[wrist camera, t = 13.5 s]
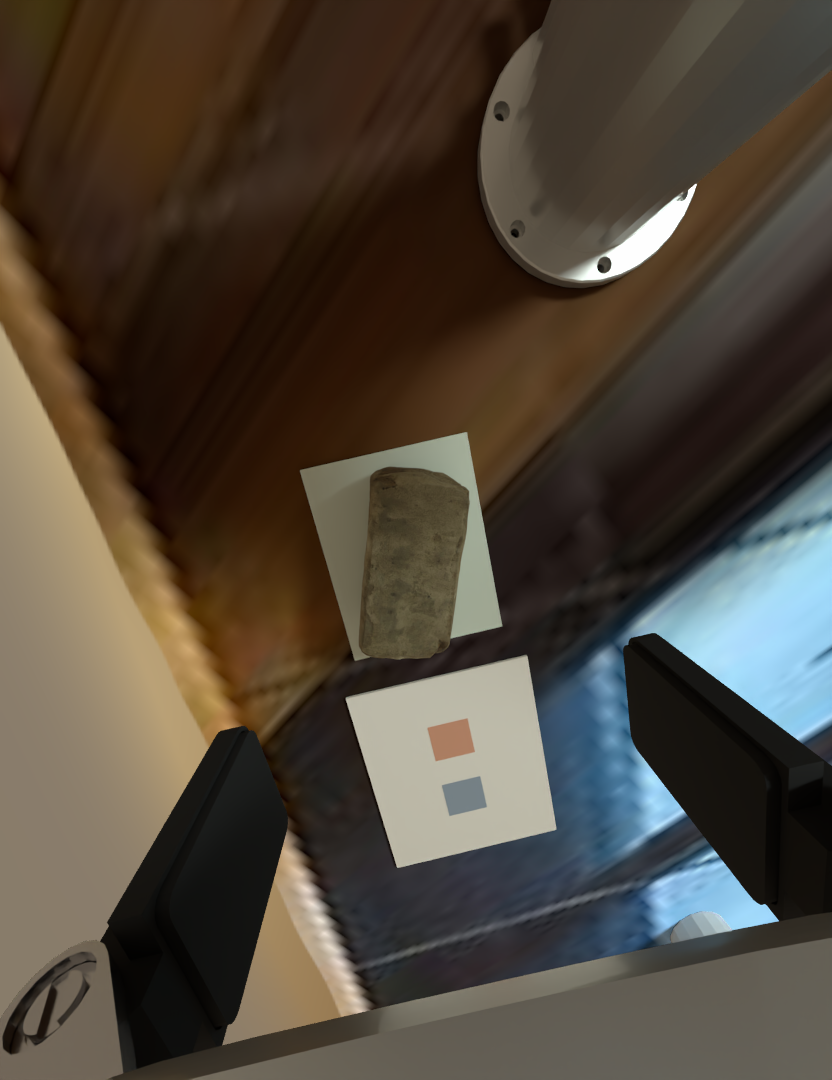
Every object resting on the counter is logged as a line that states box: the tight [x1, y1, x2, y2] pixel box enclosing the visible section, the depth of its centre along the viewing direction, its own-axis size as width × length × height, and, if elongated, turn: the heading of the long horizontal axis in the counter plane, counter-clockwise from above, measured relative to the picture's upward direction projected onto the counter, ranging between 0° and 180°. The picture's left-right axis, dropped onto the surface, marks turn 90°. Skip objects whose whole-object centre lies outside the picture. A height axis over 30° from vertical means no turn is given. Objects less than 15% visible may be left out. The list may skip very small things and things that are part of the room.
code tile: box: [346, 655, 556, 868], centre depth 32 cm, size 17×14×1 cm
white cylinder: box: [670, 911, 732, 943], centre depth 35 cm, size 7×7×7 cm
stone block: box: [359, 466, 470, 659], centre depth 25 cm, size 6×12×5 cm, turn 175°
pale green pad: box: [300, 432, 502, 661], centre depth 28 cm, size 14×11×1 cm
